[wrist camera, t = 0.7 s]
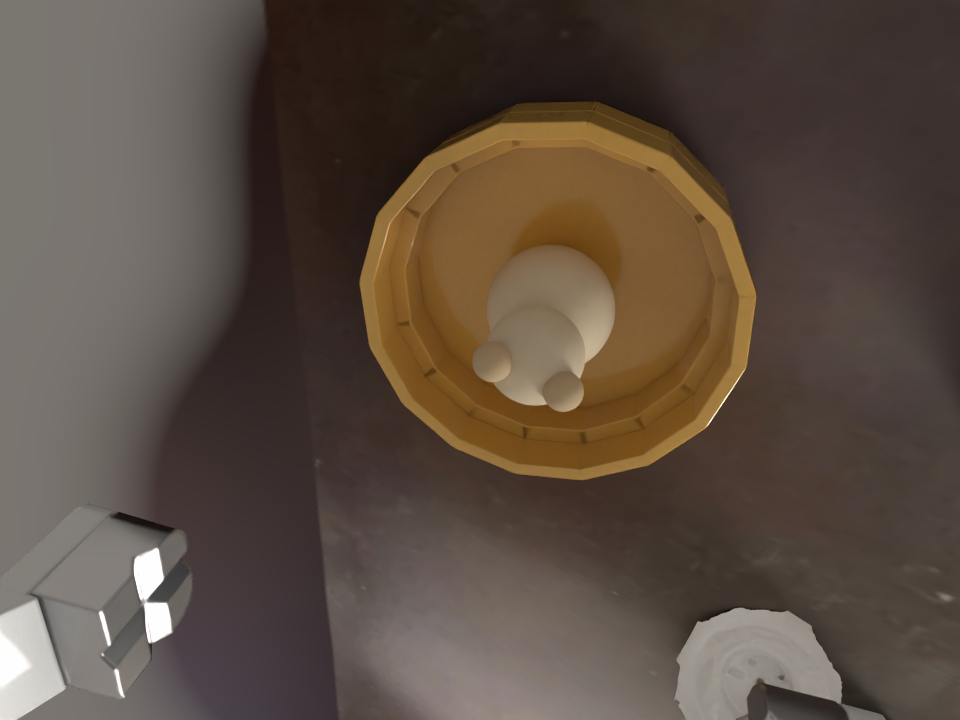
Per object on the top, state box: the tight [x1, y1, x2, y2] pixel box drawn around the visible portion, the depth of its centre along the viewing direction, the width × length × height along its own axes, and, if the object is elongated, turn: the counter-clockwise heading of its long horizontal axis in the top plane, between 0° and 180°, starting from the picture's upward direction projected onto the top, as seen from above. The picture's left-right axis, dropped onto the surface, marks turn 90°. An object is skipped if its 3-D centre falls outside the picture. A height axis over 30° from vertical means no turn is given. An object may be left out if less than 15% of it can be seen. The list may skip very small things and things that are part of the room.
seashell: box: [674, 608, 842, 720], centre depth 38 cm, size 8×5×8 cm
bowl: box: [359, 101, 757, 480], centre depth 29 cm, size 15×15×4 cm
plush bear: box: [473, 245, 615, 412], centre depth 27 cm, size 5×5×9 cm
